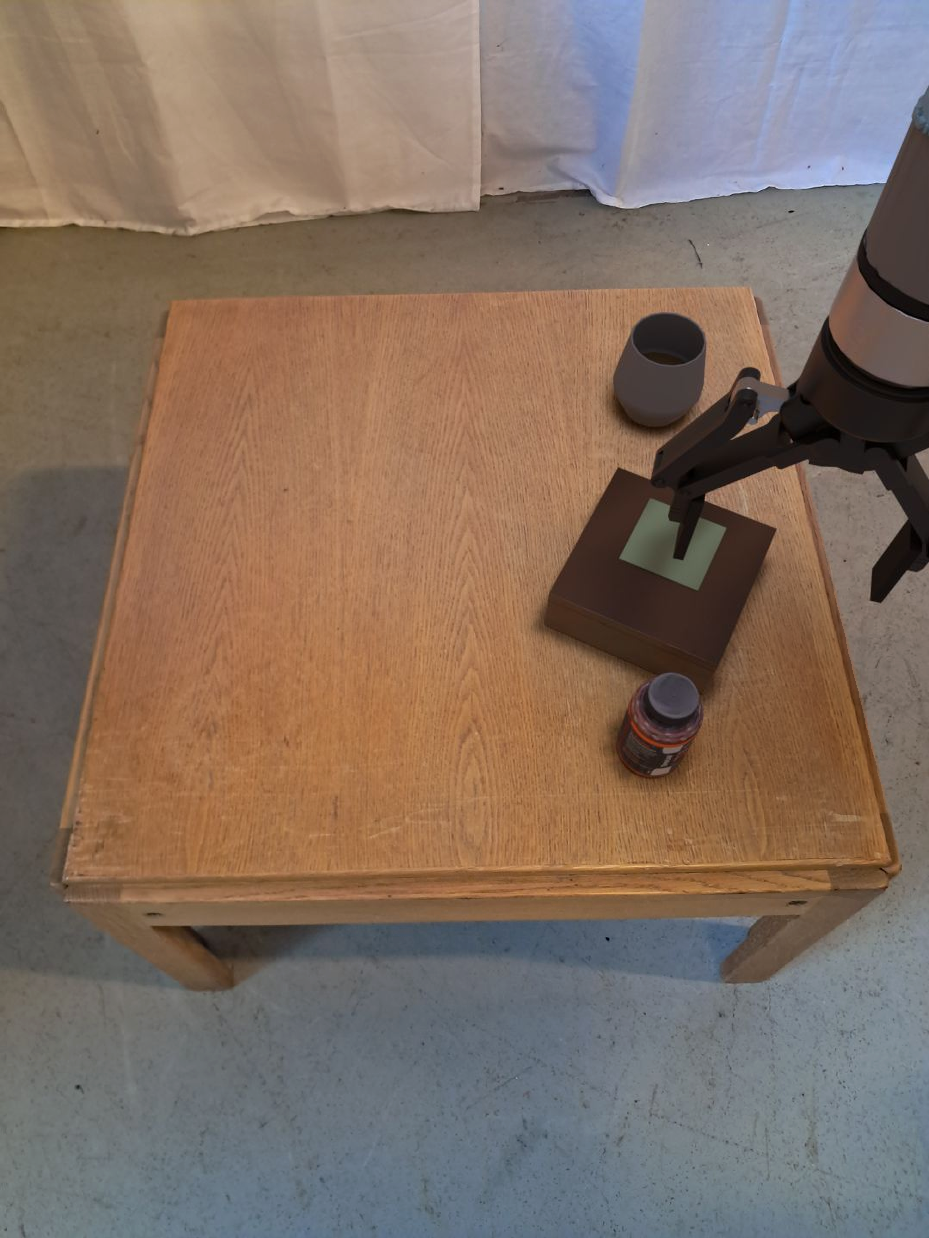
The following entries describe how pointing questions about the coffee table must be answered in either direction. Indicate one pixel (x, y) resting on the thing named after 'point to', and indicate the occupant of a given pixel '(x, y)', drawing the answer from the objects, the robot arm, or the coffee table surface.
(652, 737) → the supplement bottle
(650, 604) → the dark wooden box
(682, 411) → the cup
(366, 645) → the coffee table surface
